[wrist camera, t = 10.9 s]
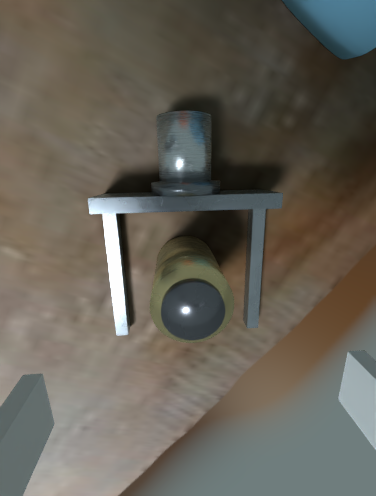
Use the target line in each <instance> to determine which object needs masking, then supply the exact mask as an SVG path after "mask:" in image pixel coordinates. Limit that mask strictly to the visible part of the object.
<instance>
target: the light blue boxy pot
mask: <svg viewBox="0 0 376 496" xmlns="http://www.w3.org/2000/svg"><path fill="white" fill-rule="evenodd" d="M282 1H283V2H284V4H285V5H286V6H287V8H288V9H289V10H290V11H291V12H292V13H293V14H294V16H295V17H296V18H297V19H298V20H299V21H300V22H301V23H302V24H303V25H304V26H305V27H306V28H307V29H308V30H309V31H310V32H311V33H312V34H313V35H314V36H315V37H316V38H317V39H318V40H319V41H320V42H321V43H322V44H323V45H324V46H325V47H326V48H327V49H328V50H329V51H330V52H331V53H333V54H334V55H335V56H337V57H338V58H340V59H350V58H354V57H358V56H362V55H364V54H366V53H368V52H369V51H371V50H372V49H374V48H376V0H282Z"/></svg>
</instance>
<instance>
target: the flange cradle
mask: <svg viewBox="0 0 376 496" xmlns="http://www.w3.org/2000/svg"><path fill="white" fill-rule="evenodd" d="M156 119H157V138H158V158H159V177H160V182H151V189H152V192H142V193H104V194H101V195H97V196H94V197H91V198H88V204H89V212H90V214H102V215H103V223H104V232H105V240H106V249H107V257H108V266H109V275H110V283H111V292H112V300H113V309H114V317H115V326H116V334H117V335H128V333H129V330H130V318H129V308H128V298H127V288H126V278H125V268H124V257H123V247H122V237H121V227H120V217H119V213H142V212H175V211H208V210H241V209H248V231H247V252H246V274H245V295H244V317H243V321H244V323H245V325H246V327H247V328H257V327H258V319H259V304H260V289H261V273H262V258H263V243H264V228H265V212H266V209H274V208H282V198H283V193H279V192H274V191H268V190H262V189H257V190H220V181H214V180H211V115H210V114H208V113H205V112H199V111H173V112H166V113H162V114H159V115H158V116H157V117H156Z"/></svg>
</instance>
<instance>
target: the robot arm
mask: <svg viewBox="0 0 376 496" xmlns="http://www.w3.org/2000/svg"><path fill="white" fill-rule="evenodd" d="M339 401H340V403H341V404H342V405H343V407H344V408H345V409H346V411H347V412H348V413H349V415H350V416H351V417H352V419H353V420H354V421H355V423H356V424H357V425H358V427H359V428H360V430H361V431H362V432H363V434H364V435H365V436H366V438H367V439H368V440H369V442H370V443H371V444H372V446H373V447H374V448H375V450H376V361H375V360H374V359H373V358H372V357H371V356H370V355H369V354H368V353H367V352H366V351H364V350H362V351H349V352H348V354H347V359H346V364H345V369H344V374H343V379H342V384H341V388H340V393H339ZM53 426H54V420H53V415H52V411H51V407H50V403H49V399H48V394H47V390H46V386H45V382H44V378H43V374H30V375H23V376H22V377H21V379H20V380H19V382H18V383H17V384H16V386H15V387H14V389H13V390H12V392H11V393H10V394H9V396H8V397H7V399H6V400H5V402H4V403H3V404H2V406H1V407H0V496H23V493H24V491H25V489H26V487H27V484H28V482H29V480H30V478H31V475H32V473H33V471H34V469H35V466H36V464H37V462H38V460H39V457H40V455H41V453H42V451H43V449H44V446H45V444H46V442H47V440H48V437H49V435H50V433H51V431H52V428H53Z"/></svg>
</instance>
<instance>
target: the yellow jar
mask: <svg viewBox="0 0 376 496" xmlns="http://www.w3.org/2000/svg"><path fill="white" fill-rule="evenodd" d="M233 310H234V297H233V293H232V290H231V288H230V286H229V284H228V283H227V281H226V279H225V277H224V275H223V273H222V271H221V269H220V267H219V265H218V263H217V261H216V259H215V257H214V255H213V253H212V252H211V250H210V248H209V247H208V245H207V244H206V243H205V242H203V241H202V240H200V239H198V238H196V237H192V236H180V237H176V238H173V239H171V240H170V241H168V242H167V243H166V244H165V245H164V246H163V247H162V248H161V250H160V252H159V254H158V258H157V264H156V270H155V276H154V282H153V288H152V294H151V300H150V313H151V317H152V319H153V322H154V324H155V325H156V327H157V328H158V329H159V330H160V331H161V332H162V333H163V334H164V335H166V336H167V337H169V338H171V339H173V340H176V341H180V342H186V343H195V342H201V341H205V340H208V339H210V338H212V337H214V336H215V335H217V334H218V333H220V332H221V331H222V330H223V329H224V328H225V327H226V325H227V324H228V323H229V321H230V319H231V317H232V314H233Z"/></svg>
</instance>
